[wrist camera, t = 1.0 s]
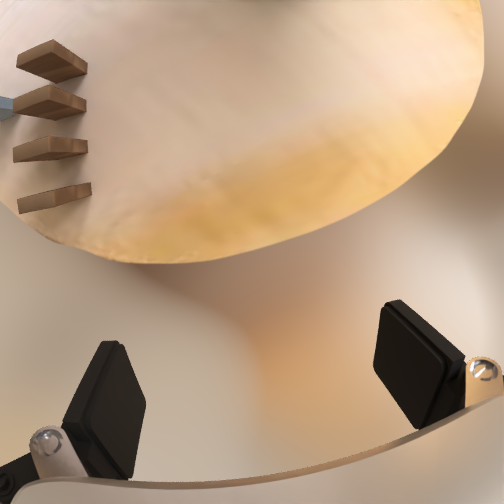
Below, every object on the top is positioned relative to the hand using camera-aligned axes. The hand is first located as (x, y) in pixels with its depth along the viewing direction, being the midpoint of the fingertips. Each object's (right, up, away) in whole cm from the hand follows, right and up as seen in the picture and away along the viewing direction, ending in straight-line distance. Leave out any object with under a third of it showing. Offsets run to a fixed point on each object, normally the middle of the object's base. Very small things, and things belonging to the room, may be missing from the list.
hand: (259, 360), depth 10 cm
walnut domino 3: (-23, +17, +21) cm, 36 cm away
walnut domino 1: (-24, +27, +18) cm, 41 cm away
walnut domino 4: (-23, +12, +23) cm, 35 cm away
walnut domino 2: (-24, +22, +20) cm, 38 cm away
